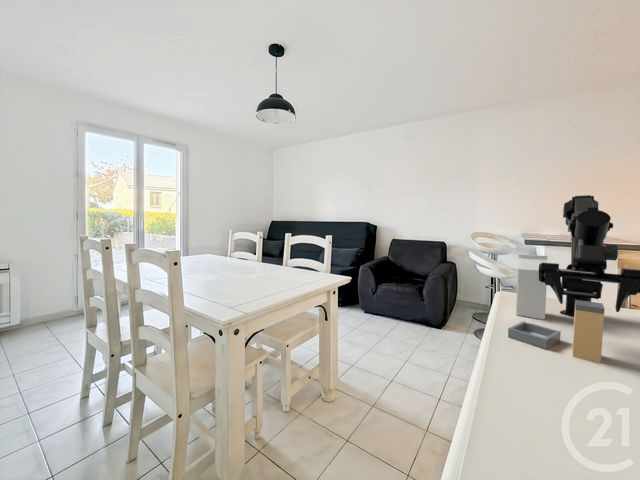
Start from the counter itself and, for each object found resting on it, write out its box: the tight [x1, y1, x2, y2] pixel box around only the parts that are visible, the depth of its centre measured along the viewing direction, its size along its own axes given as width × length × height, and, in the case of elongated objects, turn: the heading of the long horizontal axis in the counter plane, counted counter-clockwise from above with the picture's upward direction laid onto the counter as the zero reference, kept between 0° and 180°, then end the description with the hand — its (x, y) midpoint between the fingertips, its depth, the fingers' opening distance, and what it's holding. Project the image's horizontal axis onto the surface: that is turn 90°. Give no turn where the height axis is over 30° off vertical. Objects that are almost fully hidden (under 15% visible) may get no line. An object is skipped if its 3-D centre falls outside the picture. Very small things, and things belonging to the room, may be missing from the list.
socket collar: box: [507, 321, 561, 350], centre depth 70 cm, size 8×8×2 cm
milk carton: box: [515, 254, 548, 320], centre depth 86 cm, size 7×7×19 cm
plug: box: [572, 300, 605, 364], centre depth 61 cm, size 4×4×12 cm
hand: (588, 306), depth 63 cm, fingers open, 9 cm apart
